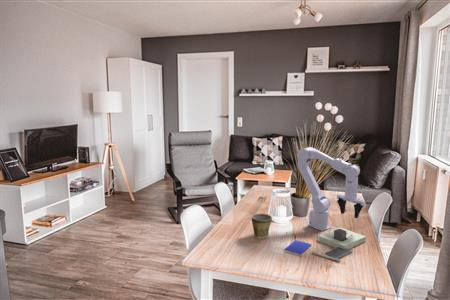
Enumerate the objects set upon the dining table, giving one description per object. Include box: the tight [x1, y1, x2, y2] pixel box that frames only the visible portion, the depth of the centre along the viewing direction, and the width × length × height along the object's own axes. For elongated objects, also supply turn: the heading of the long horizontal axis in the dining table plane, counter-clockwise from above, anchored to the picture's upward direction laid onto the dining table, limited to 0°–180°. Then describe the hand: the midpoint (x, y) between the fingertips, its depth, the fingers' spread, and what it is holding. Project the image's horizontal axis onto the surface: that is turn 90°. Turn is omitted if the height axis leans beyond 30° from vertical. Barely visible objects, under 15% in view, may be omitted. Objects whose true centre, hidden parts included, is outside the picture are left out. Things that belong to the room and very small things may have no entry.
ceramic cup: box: [251, 213, 273, 240], centre depth 161 cm, size 13×10×10 cm
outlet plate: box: [317, 227, 367, 250], centre depth 156 cm, size 14×18×3 cm
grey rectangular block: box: [333, 228, 347, 242], centre depth 153 cm, size 4×4×6 cm
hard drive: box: [283, 239, 312, 257], centre depth 147 cm, size 2×8×12 cm
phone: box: [324, 247, 352, 260], centre depth 142 cm, size 6×11×1 cm, turn 126°
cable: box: [311, 251, 341, 263], centre depth 139 cm, size 12×1×1 cm, turn 51°
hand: (349, 215), depth 163 cm, fingers open, 7 cm apart
